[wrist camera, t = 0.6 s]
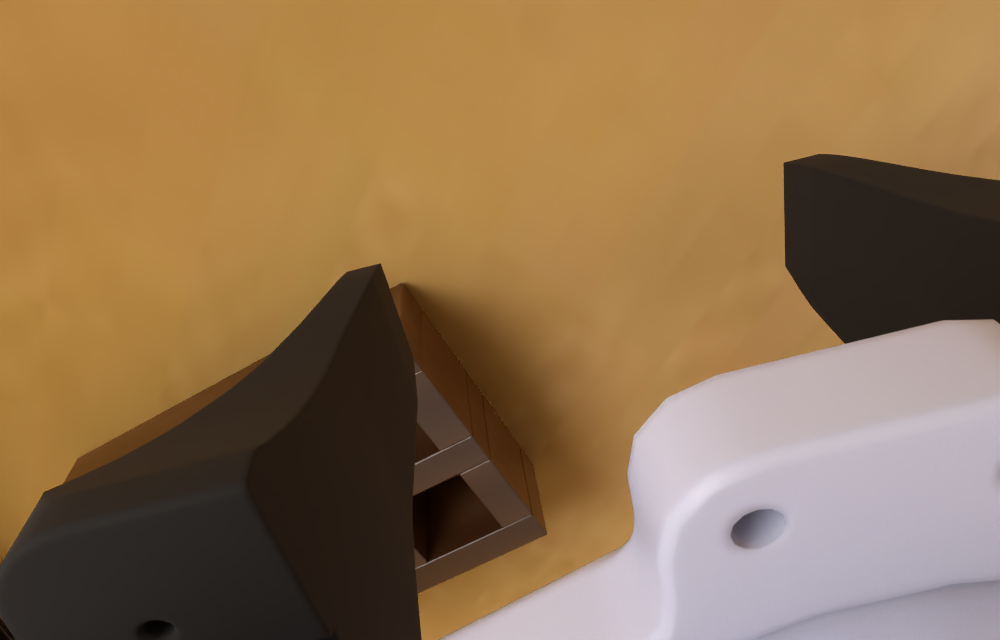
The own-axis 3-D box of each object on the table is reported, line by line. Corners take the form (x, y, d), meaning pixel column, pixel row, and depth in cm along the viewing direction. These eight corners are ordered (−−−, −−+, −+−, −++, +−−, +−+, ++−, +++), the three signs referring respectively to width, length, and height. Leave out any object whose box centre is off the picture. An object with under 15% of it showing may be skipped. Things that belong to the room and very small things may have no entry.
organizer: (533, 465, 29) (547, 534, 26) (248, 600, 31) (230, 679, 28) (402, 282, 24) (400, 340, 21) (77, 458, 26) (32, 534, 23)
